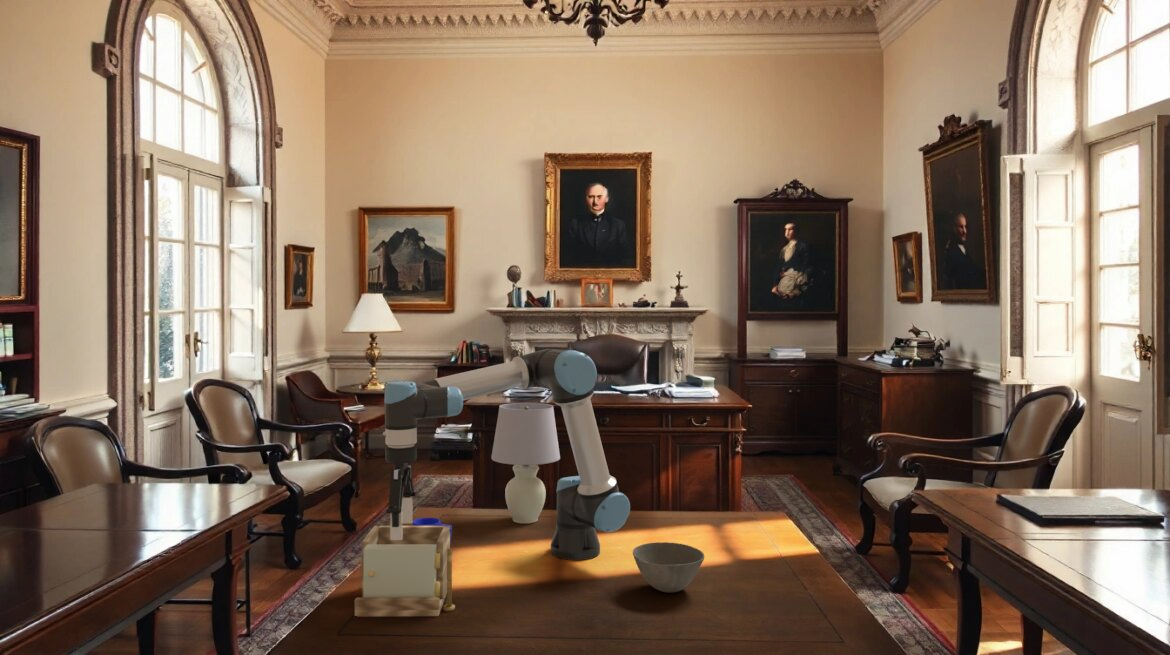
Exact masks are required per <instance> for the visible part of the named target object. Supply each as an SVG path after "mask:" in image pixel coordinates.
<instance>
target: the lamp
mask: <svg viewBox="0 0 1170 655" xmlns="http://www.w3.org/2000/svg"><path fill="white" fill-rule="evenodd" d="M495 426H496V427H495V433H494V440H493V445H492V453H491V457H490V458H491V460H492V461H493V462H496V463H500V464H506V465H513V466H512V472H513V473H514V477H513V478H511V479H510V480H509V481H508V482H507V484H506V486H505V494H504V497H505V503H506V506H507V509H508V512H509V514H510V516H511V519H512V521H513V522H514V523H517V524H523V525H525V524H532V523H533V524H534V523H535V522H537V521H538V520H539V517H540V514H541V513H542V510H543V508H544V505H545V503H546V496H547V494H546V493H547V492H546V487H545V484H544V482H543V481H542V480H541V479H540V478H539V477H538V476H537V474H538V471H539V470H540V467H539V465H545V464H551V463H555V462H558V461H560V460H561V454H560V448H559V441H558V440H559V439H558V432H557V427H556V426H557V425H556V418H555V409H554V405H552V404H548V403H539V402H513V403H505V404H500V405H499V408H498V414H497V421H496V425H495Z"/></svg>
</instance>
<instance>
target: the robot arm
mask: <svg viewBox="0 0 1170 655" xmlns="http://www.w3.org/2000/svg"><path fill="white" fill-rule="evenodd" d="M597 378H598V371H597V368H596V364H595V362H594V361H593V359H592V358H591V356H589V355H588V354H586V353H584V352H581V351H578V350H573V349H556V348H545V349H541V350H537V351H533V352H529V353H526V354H523V355H518V356H515V357H513V358H512V359H511V361H507V362H504V363H499V364H494V365H490V366H486V367H482V368H477V369H473V370H468V371H464V372H459V373H455V374H450V375H447V376H441V377H437V378H434V379H429V380H425V381H424V380H423V381H420V382H419V381H408V380H407V381H406V380H405V381H391V382H388V383H387V384H386V385H385V388H384V400H383V404H384V424H385V425H384V427H385V428H384V430H385V431H383V432H382V435H383V436H384V437H385V445H386V447H385V448H384V454H385V456H384V457H385V462H386V463H388V464H393V469H391V470H390V482H389V493H388V494H389V495H388V496H389V497H388V507H387V509H386V514H389V524H390V525H389V526H390V540H402V539H403V534H402V526H403V524H405V525H406V524H413V521H414V520H413V497H416V491H415V487H414V480H413V470H412V463H413V462H416V460H417V459H418V454H417V452H418V450H417V449H418V448H417V445H416V444H417V443H418V433H417V432H418V428H417V426H418V425H417V421H418V420H423V419H435V418H438V419H439V418H449V417H455V416H459V415H460V414H461V412H462V411H463V406H464V401H467V400H471V399H475V398H479V397H483V396H487V395H492V394H495V393H499V392H504V391H508V390H511V389H515V388H518V389H519V390H527V389H530V388H531V389H533V388H542V389H548V390H550V391H551V395H552V399H553V402H554V404H555V405H558V406H559V407H560V408H561V413H562V416H563V420H564V424H565V427H566V431H567V435H568V439H569V442H570V447H571V450H572V453H573V458H574V462H575V465H576V469H577V472H578V475H573V476H567V477H566V476H565V477H562V478H560V479H559V480H557V485H556V528H555V530H554V533H553V536H552V539H551V543H550V551H549V552H550V554H551V555H552V556H554V557H556V558H558V559H559V558H560V559H562V560H563V559H565V560H573V561H574V560H575V561H576V560H577V561H578V560H587V559H589V560H590V559H592V558H594V557H595V558H596V557H598V556H599V555H600V553H601V544H600V540H599V537H598V533H597V530H598V531H601V532H605V533H612V532H613V533H614V532H616V531H618V530H619V529H621V528H622V527H623V526H624V525H625V524H626V522H627V519H628V518H629V515H630V513H631V512H630V511H631V502H630V500H629V498H628V496H626V494H625V493H623V492H620V490H619V485H618V482H617V478H616V477H614V476H612V475H611V474H610V470H609V468H608V464H607V460H606V455H605V452H604V448H603V445H602V440H601V436H600V432H599V427H598V425H597V419H596V417H595V413H594V408H593V405H592V400H591V399H592V397H593V395H594V393H595V391H594V387H595V386H596V381H597Z"/></svg>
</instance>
